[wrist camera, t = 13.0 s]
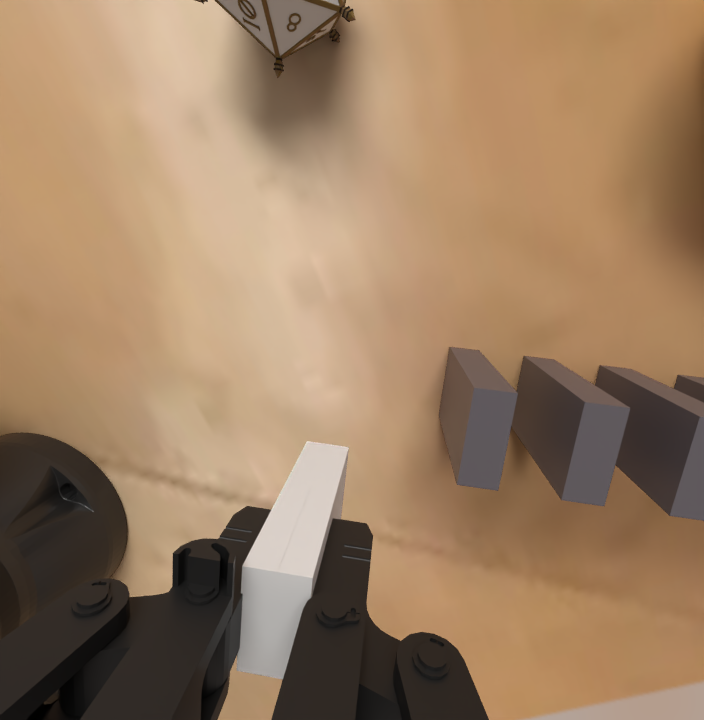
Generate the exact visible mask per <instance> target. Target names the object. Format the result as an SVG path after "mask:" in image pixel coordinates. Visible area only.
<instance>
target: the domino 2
mask: <svg viewBox="0 0 704 720" xmlns="http://www.w3.org/2000/svg"><path fill="white" fill-rule="evenodd" d="M517 393H518V395H517V400H516V405H515V410H514V415H513V420H512V425H511V427H512V428H513V430H514V431H515V433H516V434H517V436H518V437H519V439H520V440H521V442H522V443H523V445H524V446H525V447H526V449H527V450H528V452H529V453H530V455H531V456H532V458H533V459H534V461H535V462H536V464H537V465H538V466H539V468H540V469H541V471H542V472H543V474H544V475H545V477H546V478H547V480H548V481H549V483H550V484H551V486H552V487H553V488H554V490H555V491H556V493H557V494H558V496H559V497H560V499H561V500H564V501H571V502H578V503H585V504H592V505H599V506H604V505H605V502H606V498H607V494H608V490H609V487H610V483H611V479H612V475H613V472H614V468H615V464H616V460H617V457H618V453H619V449H620V445H621V442H622V438H623V434H624V430H625V427H626V423H627V419H628V415H629V412H630V407H628V406H627V405H625V404H623V403H622V402H620V401H619V400H617V399H616V398H614V397H612V396H611V395H609V394H608V393H606V392H604V391H603V390H601V389H600V388H598V387H597V386H595V385H593V384H592V383H590V382H589V381H587V380H586V379H584V378H582V377H581V376H579V375H578V374H576V373H574V372H573V371H571V370H570V369H568V368H567V367H565V366H563V365H562V364H560V363H559V362H557V361H556V360H553V359H545V358H537V357H529V356H524V358H523V363H522V368H521V372H520V377H519V382H518V387H517Z"/></svg>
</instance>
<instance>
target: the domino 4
mask: <svg viewBox="0 0 704 720" xmlns="http://www.w3.org/2000/svg"><path fill="white" fill-rule="evenodd" d="M674 389H675V390H677V391H680V392H682V393H684V394H686V395H688V396H690V397H693V398H695V399H697V400H699V401H701V402H703V403H704V378H701V377H693V376H684V375H678V377H677V380H676V384H675V387H674Z"/></svg>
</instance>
